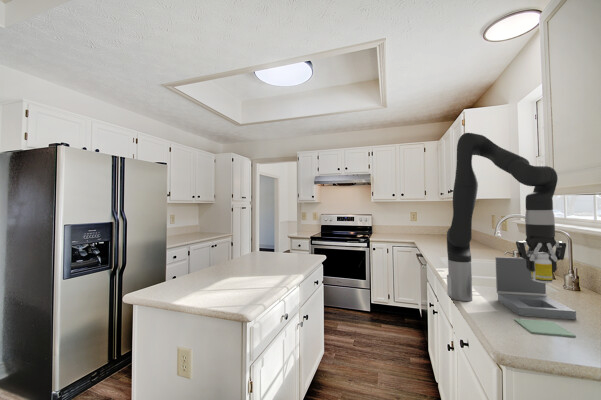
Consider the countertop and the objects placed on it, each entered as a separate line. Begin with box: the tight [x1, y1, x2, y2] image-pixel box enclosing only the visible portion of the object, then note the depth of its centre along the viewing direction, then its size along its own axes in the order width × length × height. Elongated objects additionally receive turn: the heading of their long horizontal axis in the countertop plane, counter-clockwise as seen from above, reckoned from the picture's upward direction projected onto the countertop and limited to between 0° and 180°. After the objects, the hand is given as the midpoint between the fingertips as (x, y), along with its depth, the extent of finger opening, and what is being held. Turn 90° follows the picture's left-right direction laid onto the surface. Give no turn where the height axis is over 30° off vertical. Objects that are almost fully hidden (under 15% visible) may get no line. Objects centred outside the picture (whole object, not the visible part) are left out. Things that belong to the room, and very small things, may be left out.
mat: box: [513, 318, 576, 338], centre depth 89 cm, size 12×10×1 cm
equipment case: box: [495, 256, 577, 320], centre depth 105 cm, size 18×17×19 cm
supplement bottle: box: [531, 252, 553, 284], centre depth 89 cm, size 5×5×10 cm
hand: (541, 271), depth 89 cm, fingers closed on supplement bottle, 5 cm apart
